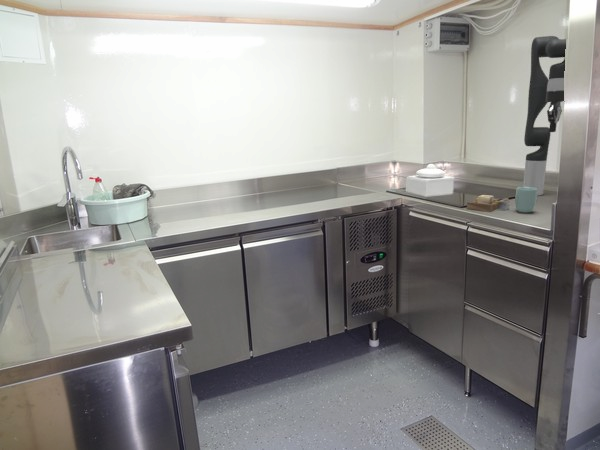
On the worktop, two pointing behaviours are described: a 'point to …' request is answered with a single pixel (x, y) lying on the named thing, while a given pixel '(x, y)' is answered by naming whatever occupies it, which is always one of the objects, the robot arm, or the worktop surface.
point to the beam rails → (484, 205)
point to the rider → (485, 199)
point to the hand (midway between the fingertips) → (552, 132)
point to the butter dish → (430, 182)
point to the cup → (525, 199)
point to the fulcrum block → (503, 205)
